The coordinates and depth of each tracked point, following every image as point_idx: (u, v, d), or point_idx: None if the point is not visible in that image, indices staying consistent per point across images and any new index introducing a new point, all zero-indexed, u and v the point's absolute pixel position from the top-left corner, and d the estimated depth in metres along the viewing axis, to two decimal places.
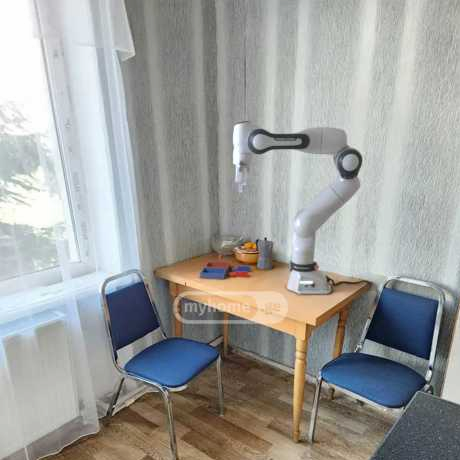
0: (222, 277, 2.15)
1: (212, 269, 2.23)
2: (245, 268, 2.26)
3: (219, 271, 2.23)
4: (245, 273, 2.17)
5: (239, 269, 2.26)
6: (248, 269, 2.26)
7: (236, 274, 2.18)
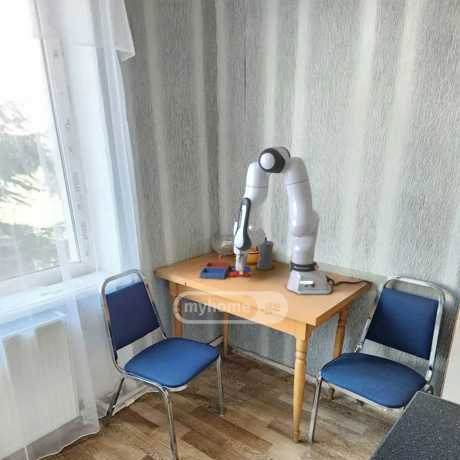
0: (222, 277, 2.15)
1: (212, 269, 2.23)
2: (245, 268, 2.26)
3: (219, 271, 2.23)
4: (245, 273, 2.17)
5: None
6: (248, 269, 2.26)
7: (236, 274, 2.18)
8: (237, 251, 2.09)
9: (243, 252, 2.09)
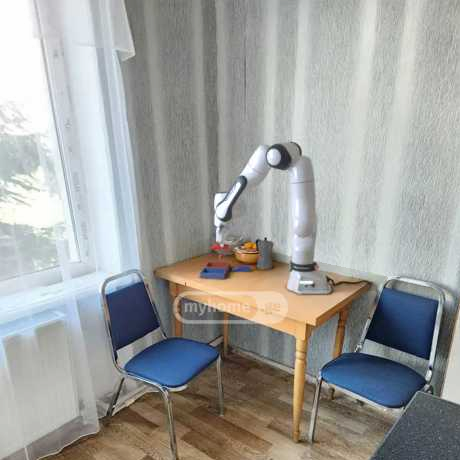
0: (222, 277, 2.15)
1: (212, 269, 2.23)
2: (245, 268, 2.26)
3: (219, 271, 2.23)
4: (226, 246, 2.22)
5: (239, 269, 2.26)
6: (248, 269, 2.26)
7: (217, 247, 2.23)
8: (218, 223, 2.14)
9: (223, 224, 2.13)
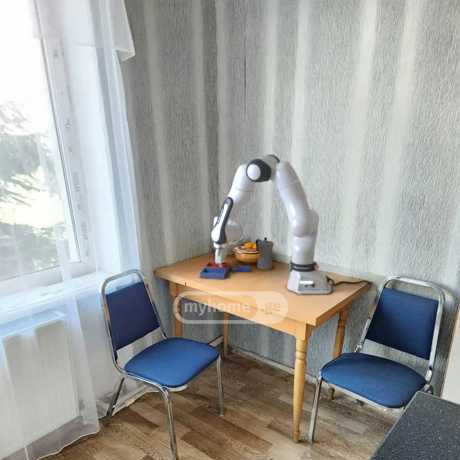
0: (222, 277, 2.15)
1: (212, 269, 2.23)
2: (245, 268, 2.26)
3: (219, 271, 2.23)
4: (225, 266, 2.28)
5: (239, 269, 2.26)
6: (248, 269, 2.26)
7: None
8: (217, 245, 2.20)
9: (222, 246, 2.19)
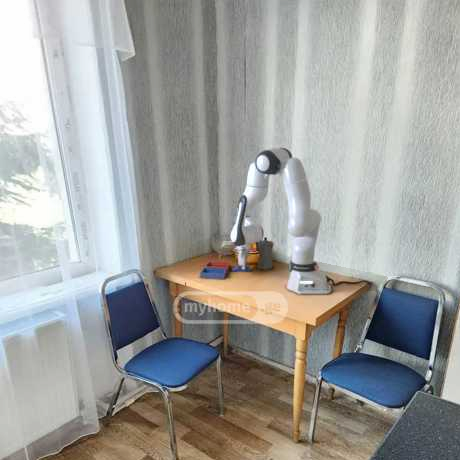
0: (222, 277, 2.15)
1: (212, 269, 2.23)
2: (245, 268, 2.26)
3: (219, 271, 2.23)
4: (225, 266, 2.28)
5: (239, 269, 2.26)
6: (248, 269, 2.26)
7: None
8: (239, 246, 2.17)
9: (245, 247, 2.17)
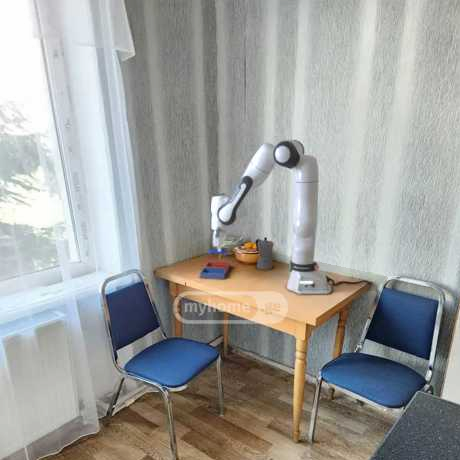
0: (222, 277, 2.15)
1: (212, 269, 2.23)
2: (221, 250, 2.14)
3: (219, 271, 2.23)
4: (225, 266, 2.28)
5: (215, 251, 2.15)
6: (224, 251, 2.14)
7: None
8: (215, 227, 2.05)
9: (221, 228, 2.05)
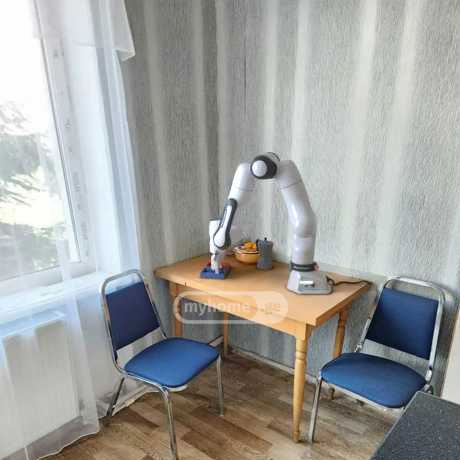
0: (222, 277, 2.15)
1: None
2: (219, 272, 2.18)
3: None
4: (225, 266, 2.28)
5: None
6: (222, 273, 2.18)
7: None
8: (213, 250, 2.10)
9: (219, 251, 2.09)
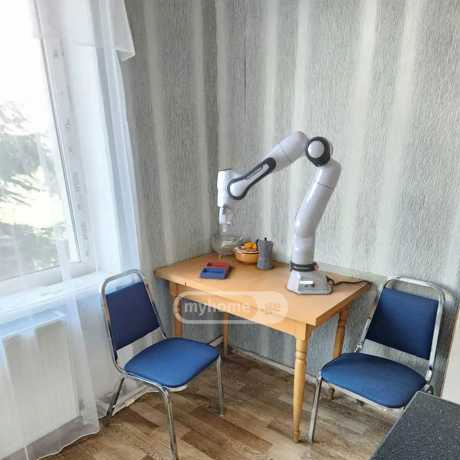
0: (222, 277, 2.15)
1: (212, 269, 2.23)
2: (219, 272, 2.18)
3: None
4: (225, 266, 2.28)
5: None
6: (222, 273, 2.18)
7: None
8: (221, 203, 1.96)
9: (227, 204, 1.96)
